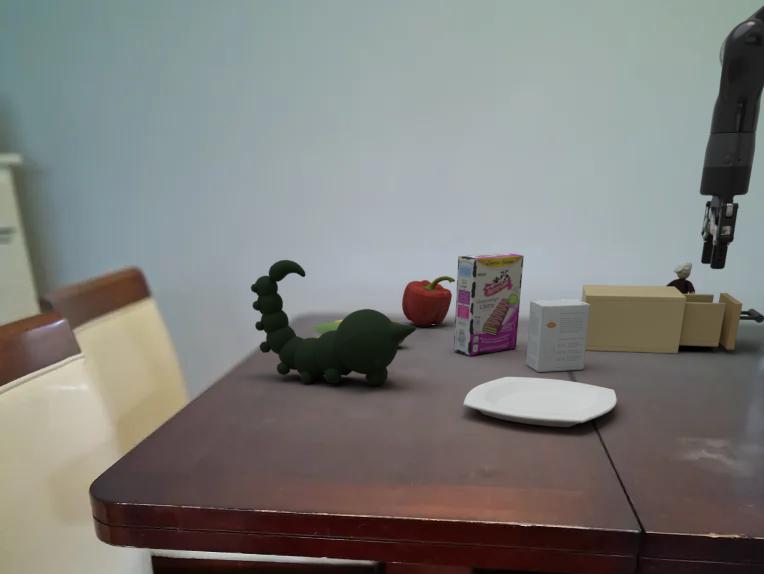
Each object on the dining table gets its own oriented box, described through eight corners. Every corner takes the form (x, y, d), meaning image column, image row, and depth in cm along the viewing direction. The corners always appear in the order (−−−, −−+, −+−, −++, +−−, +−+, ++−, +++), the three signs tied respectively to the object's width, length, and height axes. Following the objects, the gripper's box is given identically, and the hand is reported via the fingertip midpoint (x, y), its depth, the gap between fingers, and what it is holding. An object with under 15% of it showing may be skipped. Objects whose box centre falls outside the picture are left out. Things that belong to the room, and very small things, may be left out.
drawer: (746, 336, 139) (754, 293, 136) (763, 350, 128) (772, 304, 125) (633, 333, 143) (639, 291, 140) (640, 346, 132) (646, 301, 129)
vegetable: (456, 321, 160) (458, 273, 156) (449, 330, 151) (451, 279, 147) (407, 319, 163) (407, 272, 159) (397, 328, 154) (397, 278, 149)
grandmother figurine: (697, 325, 154) (707, 261, 149) (689, 327, 152) (699, 262, 146) (661, 320, 159) (670, 258, 154) (653, 323, 157) (662, 260, 151)
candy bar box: (470, 357, 129) (474, 258, 122) (452, 352, 133) (455, 255, 126) (518, 349, 135) (525, 254, 128) (500, 344, 138) (505, 251, 132)
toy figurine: (256, 394, 115) (411, 392, 106) (235, 265, 107) (400, 253, 99) (283, 379, 123) (428, 376, 114) (265, 259, 115) (419, 247, 107)
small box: (570, 362, 125) (576, 298, 121) (584, 370, 120) (591, 303, 116) (524, 364, 124) (529, 299, 119) (537, 372, 119) (542, 305, 114)
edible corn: (399, 351, 134) (399, 326, 132) (307, 341, 142) (305, 317, 141) (412, 346, 138) (412, 321, 136) (321, 336, 147) (320, 313, 145)
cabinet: (666, 338, 143) (674, 286, 139) (677, 353, 130) (686, 297, 126) (578, 335, 146) (583, 284, 142) (580, 350, 134) (586, 295, 130)
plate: (592, 442, 88) (594, 426, 87) (444, 419, 97) (444, 404, 96) (629, 401, 103) (630, 388, 102) (498, 385, 112) (499, 372, 111)
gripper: (763, 163, 116) (744, 271, 123) (742, 164, 129) (726, 262, 135) (712, 164, 118) (696, 271, 124) (696, 165, 130) (682, 262, 137)
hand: (712, 266), depth 130 cm, fingers open, 8 cm apart
